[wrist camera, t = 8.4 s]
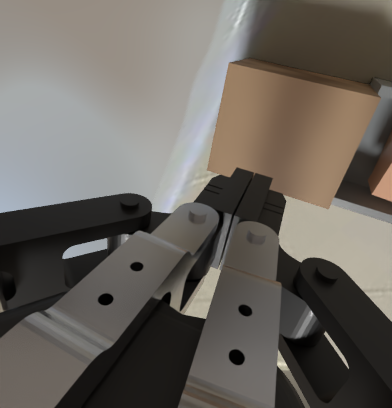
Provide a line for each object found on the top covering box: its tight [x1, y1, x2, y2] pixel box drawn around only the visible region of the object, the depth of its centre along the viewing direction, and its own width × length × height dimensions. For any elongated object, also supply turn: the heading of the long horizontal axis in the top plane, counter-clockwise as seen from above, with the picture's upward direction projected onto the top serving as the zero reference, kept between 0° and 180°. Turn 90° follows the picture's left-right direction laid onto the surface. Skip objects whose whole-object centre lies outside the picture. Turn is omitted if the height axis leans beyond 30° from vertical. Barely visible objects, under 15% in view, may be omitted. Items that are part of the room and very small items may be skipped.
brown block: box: [207, 58, 381, 209], centre depth 22 cm, size 9×8×6 cm
